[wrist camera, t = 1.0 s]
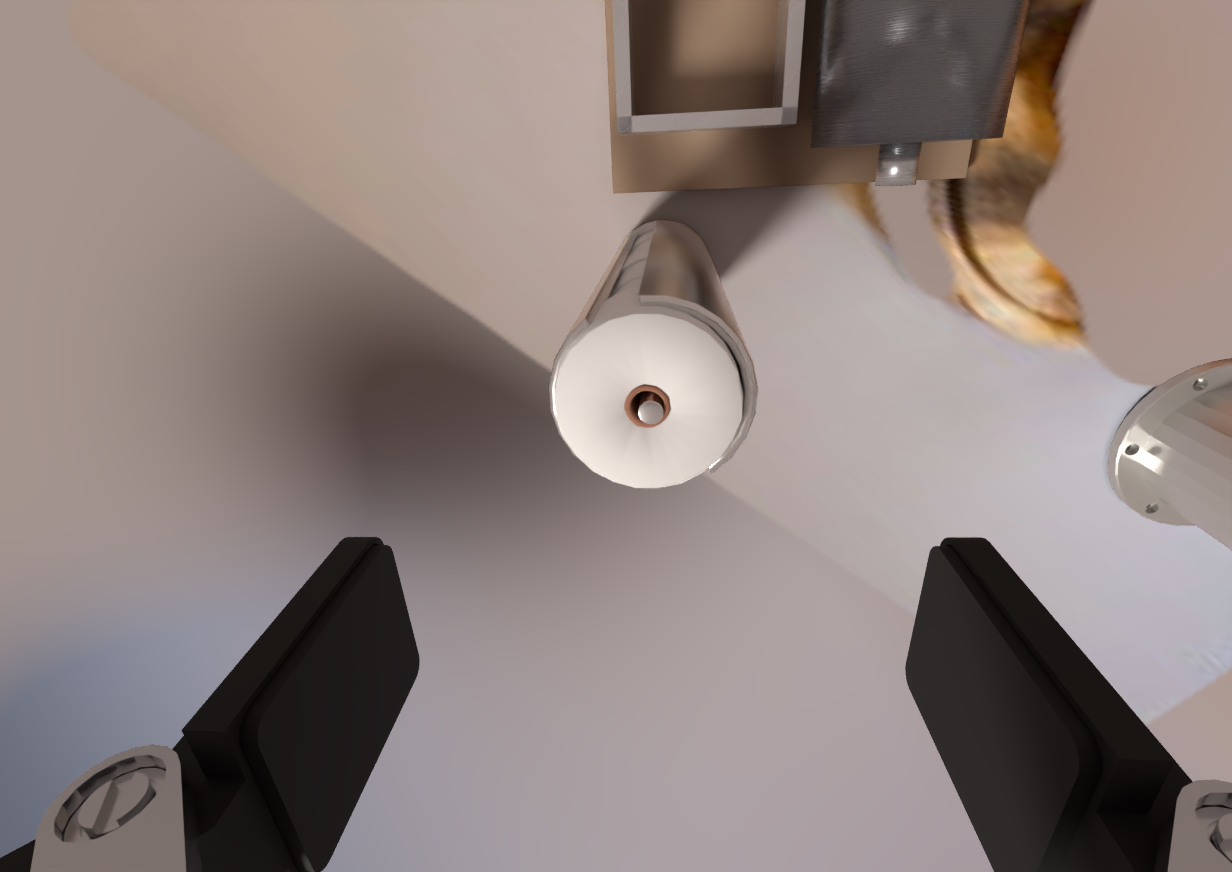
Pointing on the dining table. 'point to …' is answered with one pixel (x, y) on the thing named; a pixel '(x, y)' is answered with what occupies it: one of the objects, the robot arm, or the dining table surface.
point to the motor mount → (805, 90)
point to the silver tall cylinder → (655, 366)
